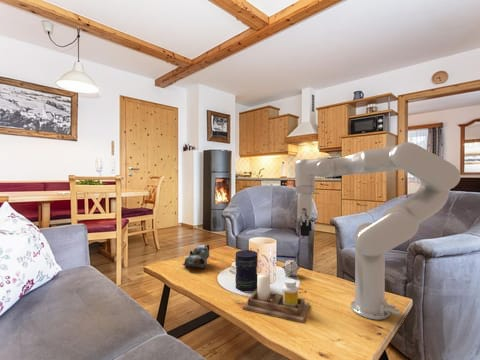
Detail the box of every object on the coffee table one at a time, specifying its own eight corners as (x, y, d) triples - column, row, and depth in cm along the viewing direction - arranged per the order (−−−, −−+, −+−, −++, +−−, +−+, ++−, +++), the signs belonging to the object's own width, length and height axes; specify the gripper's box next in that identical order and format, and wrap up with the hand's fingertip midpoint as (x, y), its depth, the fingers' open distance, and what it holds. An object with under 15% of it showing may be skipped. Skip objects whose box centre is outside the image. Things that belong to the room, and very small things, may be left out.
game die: (292, 284, 124) (293, 273, 118) (278, 274, 129) (278, 263, 123) (302, 272, 129) (304, 260, 123) (288, 262, 134) (288, 251, 128)
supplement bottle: (280, 304, 95) (280, 278, 95) (292, 302, 97) (292, 277, 97) (287, 311, 90) (287, 284, 90) (300, 309, 92) (300, 282, 92)
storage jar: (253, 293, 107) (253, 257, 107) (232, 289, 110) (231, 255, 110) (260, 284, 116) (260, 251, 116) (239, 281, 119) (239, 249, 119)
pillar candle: (272, 301, 98) (272, 275, 98) (265, 306, 94) (265, 279, 94) (262, 297, 101) (262, 272, 101) (254, 302, 97) (254, 276, 97)
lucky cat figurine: (180, 265, 141) (188, 240, 147) (200, 271, 145) (207, 247, 150) (186, 265, 128) (195, 238, 134) (208, 272, 132) (216, 245, 137)
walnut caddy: (309, 305, 97) (309, 297, 97) (303, 322, 85) (303, 313, 85) (255, 294, 106) (255, 287, 106) (242, 309, 94) (242, 300, 94)
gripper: (298, 189, 112) (299, 228, 112) (292, 191, 95) (293, 237, 95) (316, 189, 109) (317, 229, 109) (313, 191, 93) (314, 238, 93)
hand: (306, 233), depth 102 cm, fingers open, 9 cm apart
